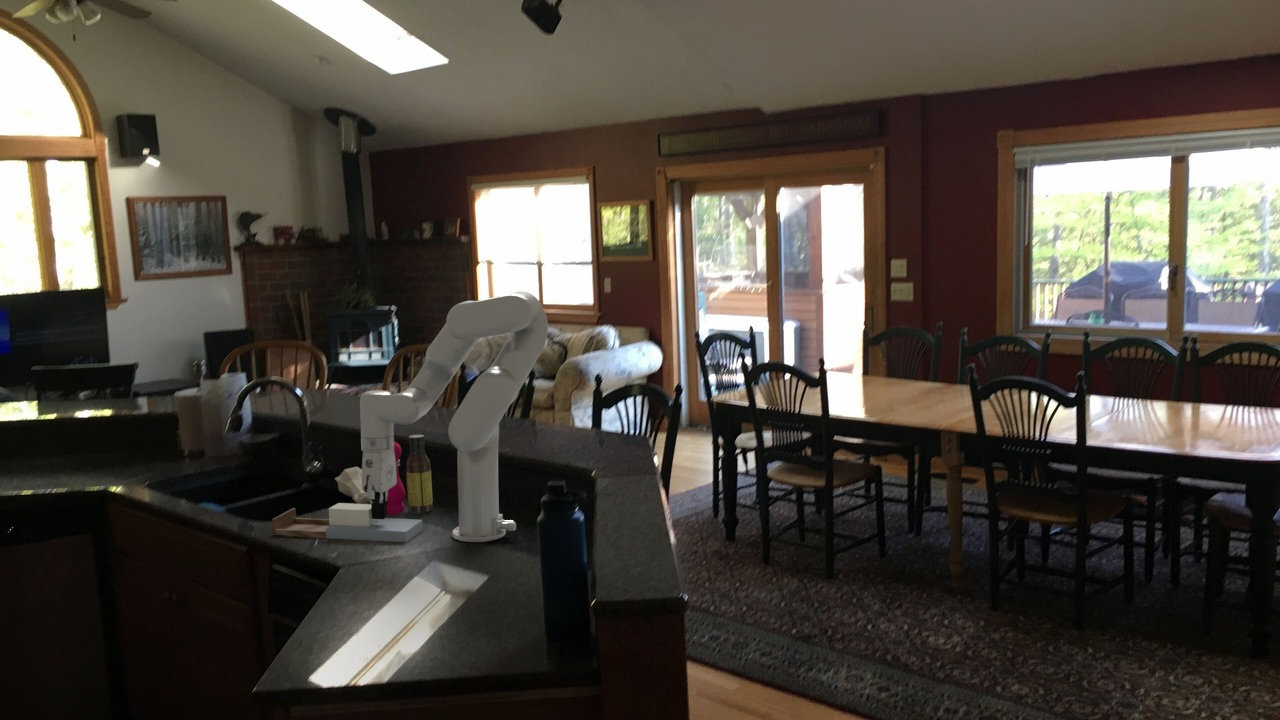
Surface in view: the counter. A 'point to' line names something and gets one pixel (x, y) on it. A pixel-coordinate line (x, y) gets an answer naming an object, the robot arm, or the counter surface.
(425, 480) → the sauce bottle
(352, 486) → the cream faceted tapered piece
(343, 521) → the cream square block
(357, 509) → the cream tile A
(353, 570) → the counter surface
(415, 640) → the counter surface
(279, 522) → the walnut box
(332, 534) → the slate bench
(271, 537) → the counter surface
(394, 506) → the pepper mill
